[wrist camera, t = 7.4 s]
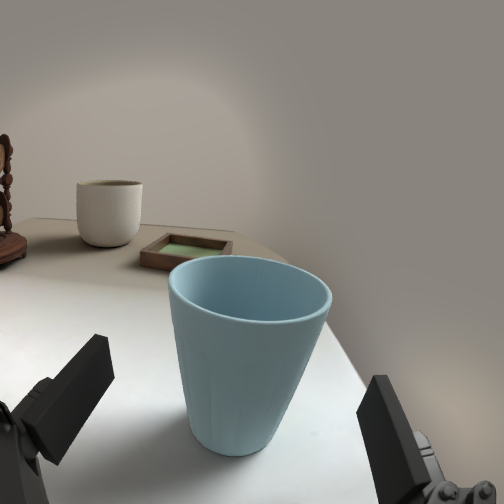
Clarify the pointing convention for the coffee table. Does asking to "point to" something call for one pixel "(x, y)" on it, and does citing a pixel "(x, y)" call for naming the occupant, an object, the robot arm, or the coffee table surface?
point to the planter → (108, 211)
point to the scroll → (8, 209)
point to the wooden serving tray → (181, 250)
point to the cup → (243, 344)
